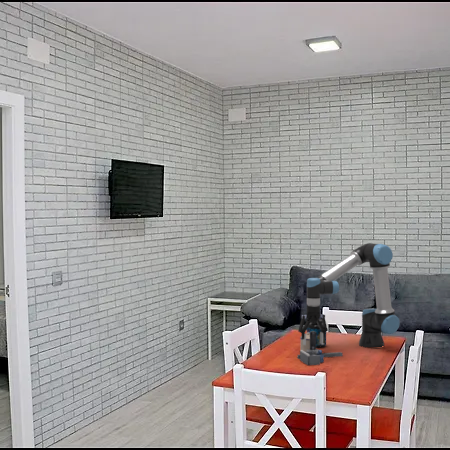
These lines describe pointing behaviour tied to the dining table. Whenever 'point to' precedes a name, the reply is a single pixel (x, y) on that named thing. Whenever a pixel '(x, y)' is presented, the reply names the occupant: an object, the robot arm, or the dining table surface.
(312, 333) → the kicker
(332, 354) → the rail
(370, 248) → the robot arm
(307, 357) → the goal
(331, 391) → the dining table surface
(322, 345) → the container
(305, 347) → the teacup with lid
